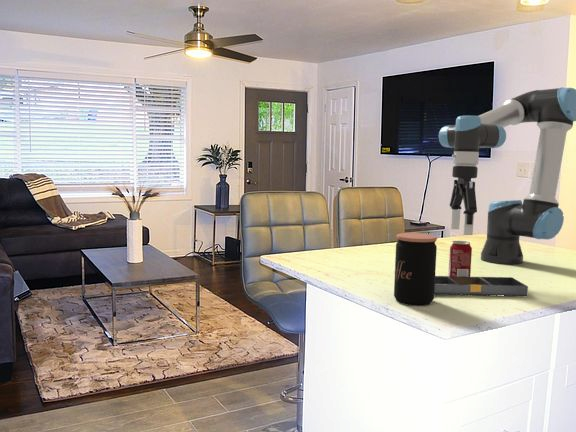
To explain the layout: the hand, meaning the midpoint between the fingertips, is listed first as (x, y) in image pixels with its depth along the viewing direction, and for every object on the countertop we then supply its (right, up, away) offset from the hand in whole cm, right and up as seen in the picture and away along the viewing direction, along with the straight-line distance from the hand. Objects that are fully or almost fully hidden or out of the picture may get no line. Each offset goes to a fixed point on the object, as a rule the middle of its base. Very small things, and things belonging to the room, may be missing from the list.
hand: (461, 232), depth 178 cm
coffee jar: (-21, -18, -27) cm, 39 cm away
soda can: (0, -15, +2) cm, 16 cm away
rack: (-2, -17, -14) cm, 22 cm away
